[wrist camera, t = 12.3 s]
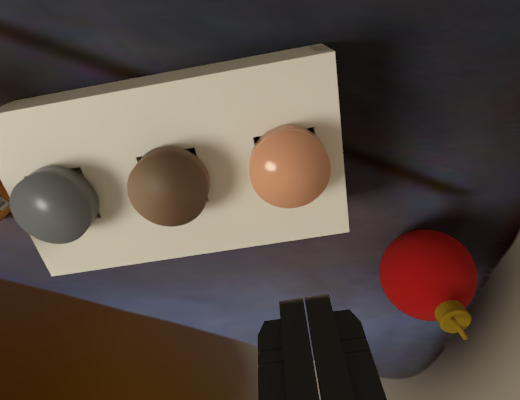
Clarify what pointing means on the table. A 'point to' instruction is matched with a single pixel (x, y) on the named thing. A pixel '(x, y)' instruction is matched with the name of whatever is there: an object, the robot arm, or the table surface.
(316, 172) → the terracotta knob
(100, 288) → the table surface
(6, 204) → the supplement box
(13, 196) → the charcoal knob
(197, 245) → the knob console
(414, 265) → the christmas ornament
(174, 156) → the walnut knob
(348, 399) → the robot arm
